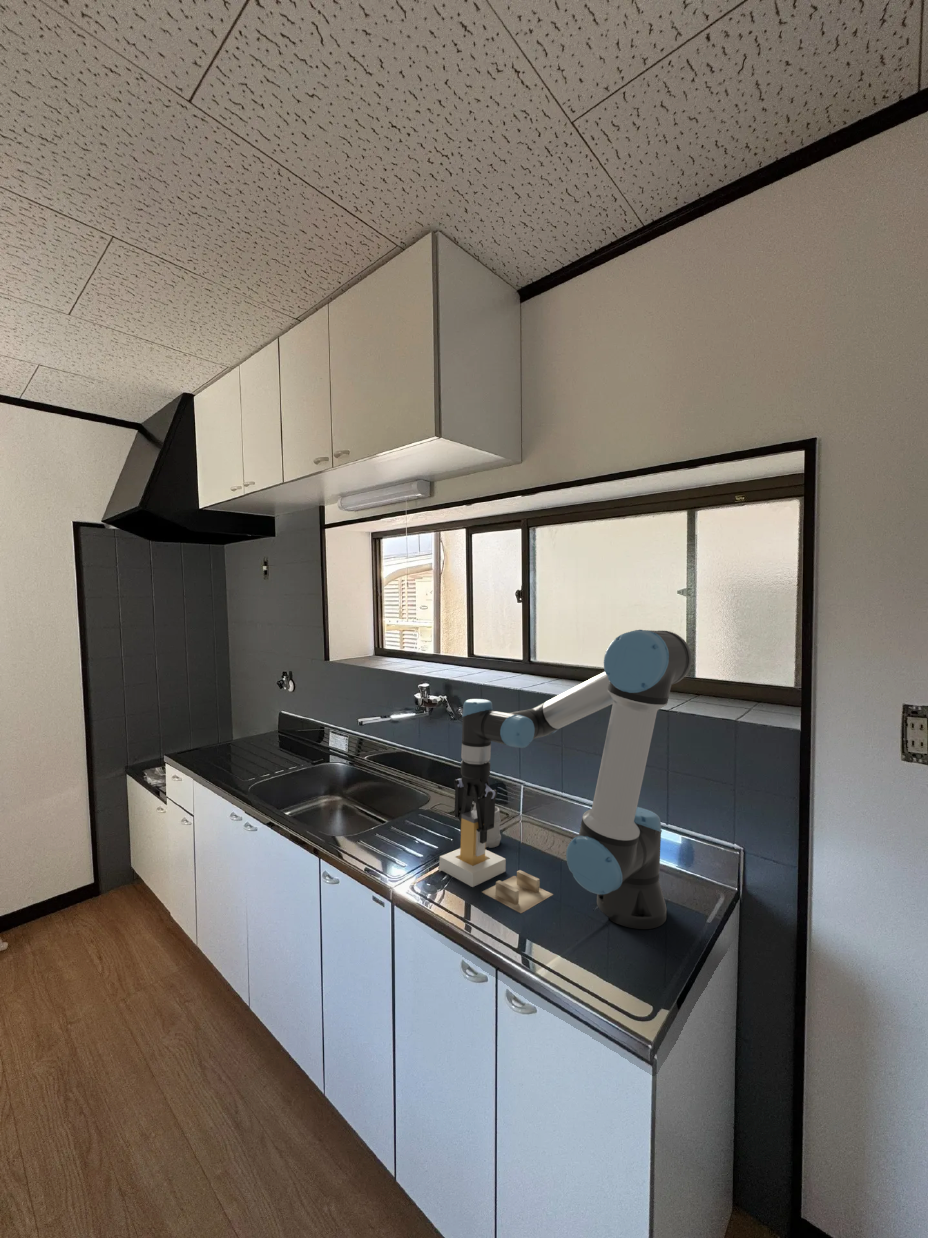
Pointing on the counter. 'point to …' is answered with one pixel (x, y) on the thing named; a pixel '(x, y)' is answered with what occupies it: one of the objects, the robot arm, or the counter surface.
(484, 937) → the counter surface
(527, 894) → the beige plate with rail
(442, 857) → the port
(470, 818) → the plug
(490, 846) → the mug
